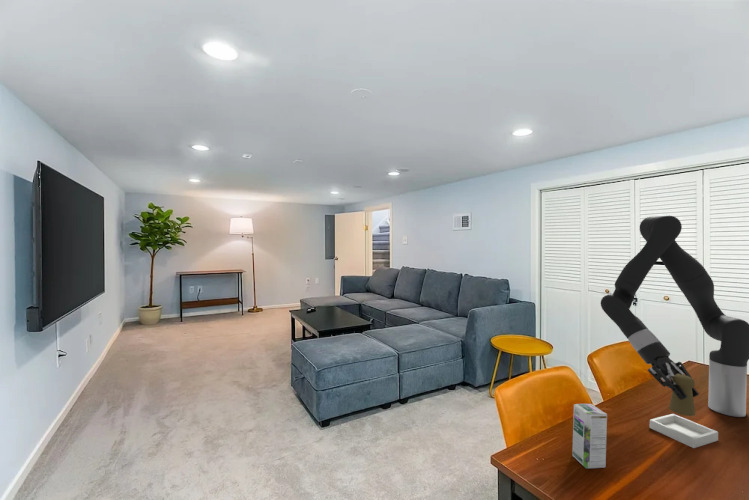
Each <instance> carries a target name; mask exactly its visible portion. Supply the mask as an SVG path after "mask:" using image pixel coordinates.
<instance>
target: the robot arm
mask: <svg viewBox="0 0 749 500" xmlns="http://www.w3.org/2000/svg"><path fill="white" fill-rule="evenodd" d="M682 229H683V227H682V222H681V221H680V219H678V217H676V216H675V215H674V216H673V215H667V214H666V215H664V214H663V215H651V216H647V217H645V218H644V219H642V220H641V221H640V224H639V233H640V235H641V236H642V238H643V239H644V240H645V241H646V243H645V244H644V245H643V247H642V248H641V250H640V251H639V252H638V253H637V254H636V255H635V256H634V257H632V258H631V259H630V260H629V262H627V264H626V265H625V266H624V267H623V269H622V270H620V271H621V272H620V273H619V275H618V276H617V278H616V280H615V282H614V291H613V294H606V295H604V296H603V297H602V298H601V300H600V308H601V309H602V311H603V312H604V313H605V314H606V316H608V317H609V318H610V320H611V321H612V322H613V323H614V324H616V326H617V327H618V328H619V330H620V331H621V332H622V333H623V335H624V336H625V338H626V339H627V340H628V342H629V343H630V345H631V347H632V348H633V350H635V351H636V353H637V354H638V355H639V357H640V358H641V359H642V360H643V361H644V362H645V364H646V365H651V367H650V368H648V369H647V371H648V373H650V375H651V376H652V377H653V378H654V379H655V380H657V382H658V383H659V384H660V385H661V386H662V387H664V388H665V387H667V388H669V389H671V391H672V392H674V393H675V394H676V396H677V397H678V398H679V399H680V400H683V399H685V398H687V395H686V394H685V392H684V391H683V390H682V389H681V388H680V386H679V385H677V383H676V381H675V379H674V377H675V376H674V375H675V374H681V375H686V376H689V377H691V378H692V379H693V377H692V375H690V373H689V372H688V370H687V369H686V367H685V365H684V364H683V363H682V362H681V361H677V362H674V360H672V359H671V358H670V356H671V352H670V351H669V350H668V349H667V348H666V347H665V345H664V344H663V343H662V342H661V341H660V340H659V338H657V336H656V335H655V334H654V333H653V332H652V331H651V330H650V329H649V328H648V327H647V326H646V325H645V323H643V321H642V320H641V319H640V318H639V317H638V316H636V315H635V314H634V313H633V311H631V309H630V308H631V307H632V305H633V302H634V299H635V296H636V293H637V291H638V290H639V288H641V286H642V284H643V282H644V280H645V279H646V277H647V275H648V274H649V273H650V271H651V269H652V268H653V266H654V265H655V264H656V263H657V262H658V260H659V259H660V260H661V263H662V264H663V265H664V267H665V268H666V270H667V272H668V273H669V274H670V276H671V278H672V279H673V281H674V282H675V284H676V285H677V287H678V289H679V290H680V291H681V293H682V294H683V296H684V297H685V299H686V300H687V301H688V303H689V305H690V306H691V307H692V309H693V311H694V312H695V314H696V317H697V318H698V321H699V322H700V325H701V326H702V328H703V330H704V332H705V333H706V334H707V336H709V337H710V338H711V339H713V340H716V341H718V342H719V341H720V347H719V349H718V350H717V349H715V350H711V351H710V352H709V358H708V359H709V361H708V362H709V363H708V364H709V366H708V400H707V401H708V404H707V406H708V408H709V409H711V410H712V411H714V412H716V413H719V414H722V415H725V416H729V417H737V418H744V417H746V416H747V413H746V412H747V387H748V386H747V385H748V361H749V323H748V322H747V321H746V320H744V319H741V318H737V317H733V316H728V315H726V314H725V313H724V312H723V311H722V310H721V308H720V307H719V305H718V304H717V302H716V301H715V283H714V281H713V279H712V277H711V275H710V274H709V273H708V271H707V270H706V269H705V267H704V266H703V265H702V263H700V262H699V261H698V260H697V259H696V258H695V257H693V256H692V255H691V254H689V253H688V252H687V251H686V250H684V249H683V248H682V247H681V246H680V245H679V243H678V242H677V241H676V239H677V238H678V237H679V235H680V234H681V232H682ZM692 393H693V398H695V397H697V396H699V395H700V393H699V392H698V390H697V389H696V388H695V386H694V387H693V388H692Z"/></svg>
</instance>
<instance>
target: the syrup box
mask: <svg viewBox="0 0 749 500" xmlns="http://www.w3.org/2000/svg"><path fill="white" fill-rule="evenodd" d="M572 421H573V422H572V423H573V424H572V425H573V426H572V455H571V456H572V457H573V458H574V459H576V461H577V462H579V464H581V465H582V467H584V468H585V469H601V468H604V469H605V468H606V464H607V462H606V461H607V460H606V459H607V433H608V432H607V429H608V426H607V423H608V413H606V412H604V411H603V410H601V409H600V408H599V407H597V406H595V405H594V404H592V403H576V404H573V418H572Z"/></svg>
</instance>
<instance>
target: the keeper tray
mask: <svg viewBox="0 0 749 500" xmlns="http://www.w3.org/2000/svg"><path fill="white" fill-rule="evenodd" d="M649 429H652V430H653V431H655V432H658V433H659V434H662V435H664V436H667V437H669V438H671V439H673V440H675V441H676V442H679V443H682V444H684V445H685V446H688V447H691V448H692V449H696V448H699V447H702V446H705V445H709V444H712V443H714V442H717V441H719V432H718V431H717V430H715V429H713V428H712V429H711V428H709V427H707V426H705V425H702V424H700V423H697V422H695V421H693V420H690V419H688V418H685V417H682V416H681V415H679V414H678V415H677V414H675V413H671V414H666V415H662V416H658V417H654V418H651V419H649Z"/></svg>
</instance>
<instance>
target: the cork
mask: <svg viewBox="0 0 749 500" xmlns="http://www.w3.org/2000/svg"><path fill="white" fill-rule="evenodd" d="M674 376H675V377H674V379H675V381H676V383H677V385H679V386H680V388H681V389H682V390H683V391H684V392H685V394H686V395H687V398H685V399H683V400H680V399H679V398H678V397H677V396H676V394H675V393H674V392H673V391H672V393H671V398H670V403H669V407H668V408H669V410H670V411H671V412H674V413H676V414H678V415H682V416H687V417H688V416H689V417H694V416H695V415H696V410H695V409H696V407H695V401H694V397H693V393H692V388H693V387H694V388H695V384H696V383H695V380H694V378H693V377H692V376H691V377H692V378H691V377H689V376H686V375H685V374H684V375H681V374H675V375H674Z"/></svg>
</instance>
